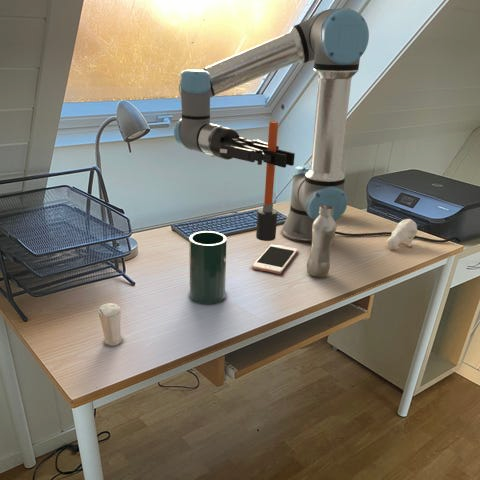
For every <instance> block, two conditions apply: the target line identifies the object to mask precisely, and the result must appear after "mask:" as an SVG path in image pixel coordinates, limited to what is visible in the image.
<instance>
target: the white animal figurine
mask: <svg viewBox="0 0 480 480" xmlns="http://www.w3.org/2000/svg"><path fill="white" fill-rule="evenodd" d="M391 232H392V234H391V235H390V236H389V237H388V238H387V240H386V242H385V243H386V245H387V247H388V248H389V250H398V248H399V245H400V244H406V246H407V247H408V248H410V247H411V246H412V243H413V240H414V239H415V238H414V237H415V236H417V232H418V226H417V223H416V222H415V221H414V220H413V219H411V218H405V219H402V220H401V221H400V222H398V224H397V225H396V227H395V229H394V230H393V231H391Z"/></svg>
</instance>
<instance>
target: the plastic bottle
mask: <svg viewBox="0 0 480 480" xmlns="http://www.w3.org/2000/svg"><path fill="white" fill-rule="evenodd" d="M333 211H334V207H332V206H330V205H321V206H320V211H319V214H320V215H319V216H318V217H317V218H316V219H315V221H314V222H313V225H312V242H311V248H310V253H309V257H308V260H307V262H306V271H307V273H308V274H309V275H310V276H313V277H317V278H319V277H320V278H321V277H326V276H327V275H328V274H329V271H330V269H331V249H332V244H333V241H334V237H335V235H336V234H335V231H336V232H337V223H336V221H334V219H333V217H332V215H333V214H334V213H333Z"/></svg>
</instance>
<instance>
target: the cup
mask: <svg viewBox="0 0 480 480" xmlns="http://www.w3.org/2000/svg"><path fill="white" fill-rule="evenodd" d="M188 245H189V246H188V247H189V251H188V252H189V297H190V299H191V300H192V301H193V302H195V303H197V304H201V305H214V304H215V305H216V304H218V303H221V302H222V301H223V300H224V299H225V298H226V275H227V274H226V269H227V268H226V267H227V236H226V235H224V234H223V233H220V232H218V231H209V230H208V231H207V230H204V231H198V232H195V233H192V234H190V236H189V237H188Z"/></svg>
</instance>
